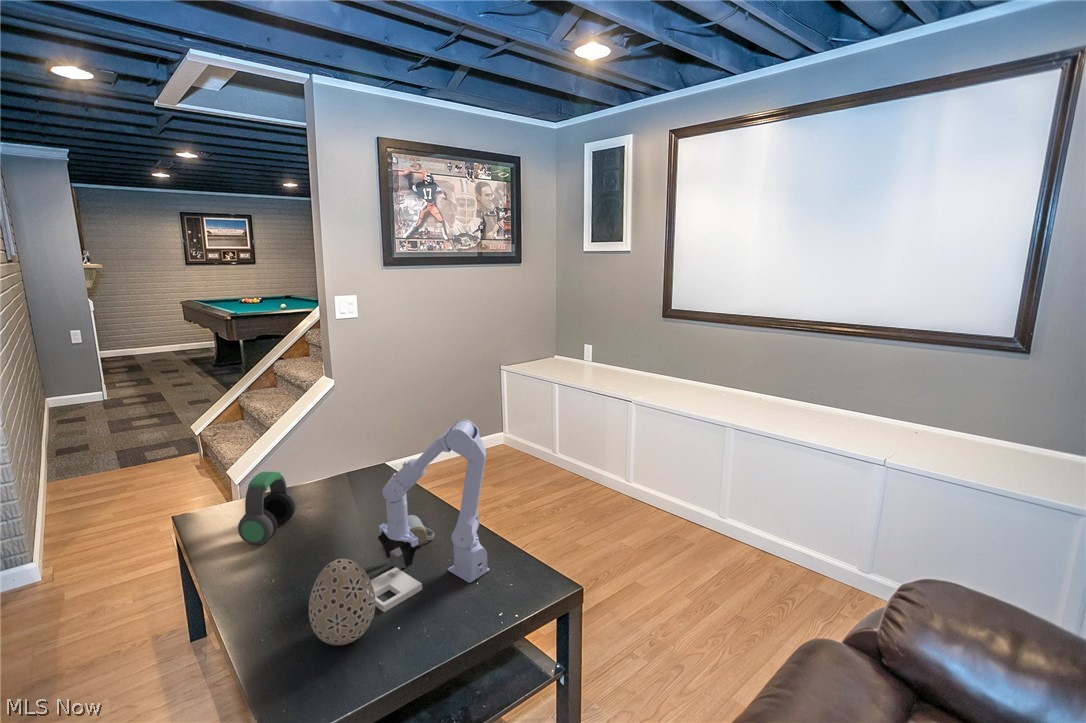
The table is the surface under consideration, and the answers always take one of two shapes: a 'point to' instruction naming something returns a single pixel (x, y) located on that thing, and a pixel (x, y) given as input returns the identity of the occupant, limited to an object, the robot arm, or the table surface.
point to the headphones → (265, 508)
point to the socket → (394, 588)
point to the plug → (397, 558)
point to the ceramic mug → (419, 529)
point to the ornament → (341, 603)
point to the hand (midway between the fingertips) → (399, 560)
